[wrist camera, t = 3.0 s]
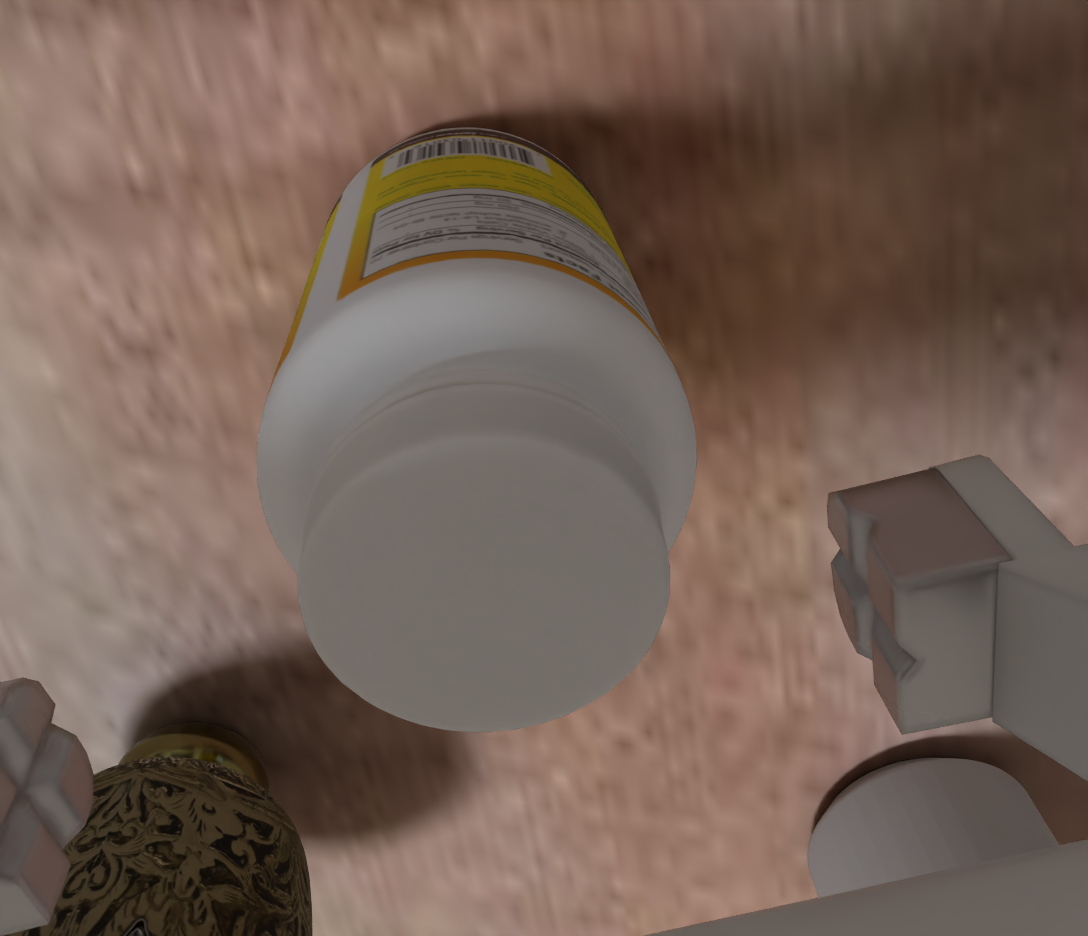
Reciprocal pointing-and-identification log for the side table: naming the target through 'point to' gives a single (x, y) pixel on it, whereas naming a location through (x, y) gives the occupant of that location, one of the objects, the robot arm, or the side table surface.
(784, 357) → the side table surface
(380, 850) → the side table surface
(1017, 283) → the side table surface
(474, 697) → the supplement bottle
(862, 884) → the beverage can
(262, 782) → the cup
